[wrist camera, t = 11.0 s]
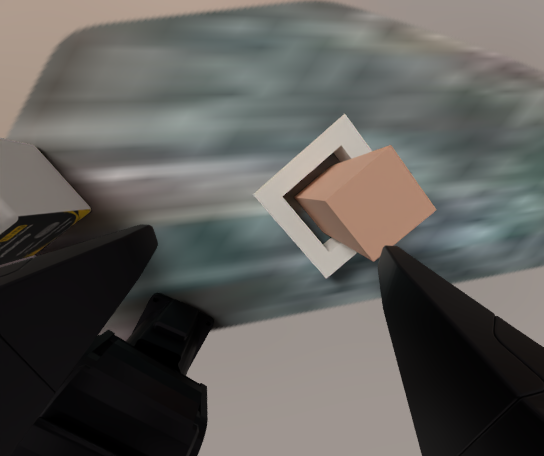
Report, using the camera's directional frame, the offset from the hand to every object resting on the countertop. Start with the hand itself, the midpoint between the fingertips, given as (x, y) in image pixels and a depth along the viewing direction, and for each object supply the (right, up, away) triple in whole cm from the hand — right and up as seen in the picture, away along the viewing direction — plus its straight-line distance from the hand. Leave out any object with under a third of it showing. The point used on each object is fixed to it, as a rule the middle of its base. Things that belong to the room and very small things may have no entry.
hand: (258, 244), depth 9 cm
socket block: (+6, +3, +14) cm, 15 cm away
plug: (+6, +3, +14) cm, 15 cm away
